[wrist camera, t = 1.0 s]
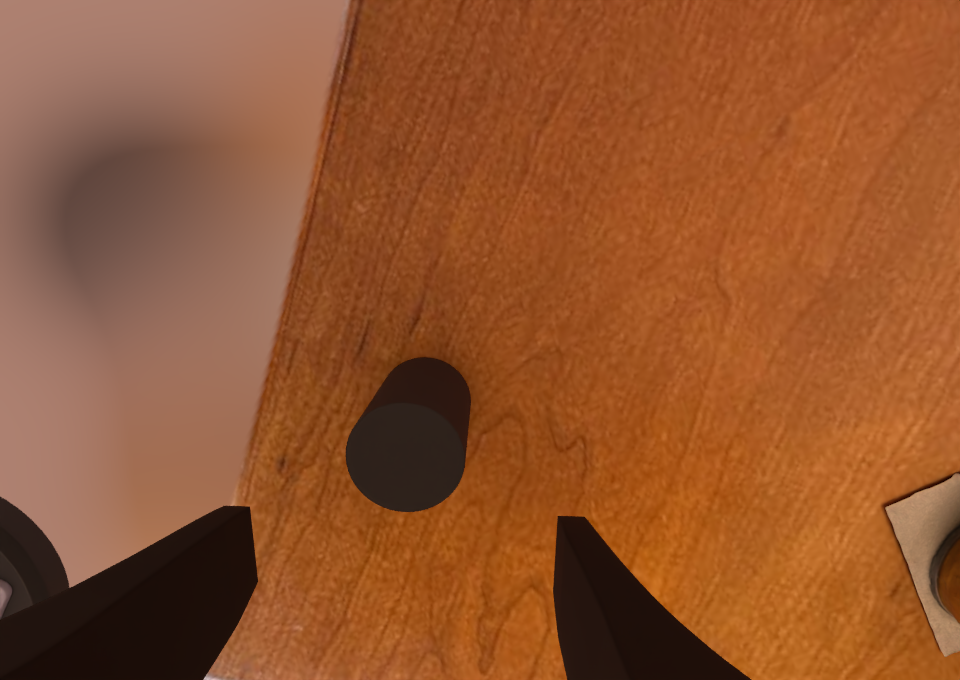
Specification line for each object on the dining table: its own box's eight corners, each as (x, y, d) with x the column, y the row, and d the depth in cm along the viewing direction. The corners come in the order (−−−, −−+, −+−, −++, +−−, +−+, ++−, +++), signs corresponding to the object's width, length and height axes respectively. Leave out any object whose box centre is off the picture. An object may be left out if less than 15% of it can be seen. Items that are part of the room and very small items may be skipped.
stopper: (365, 414, 19) (324, 477, 14) (408, 340, 19) (380, 380, 14) (441, 457, 20) (427, 532, 15) (487, 386, 19) (487, 441, 14)
